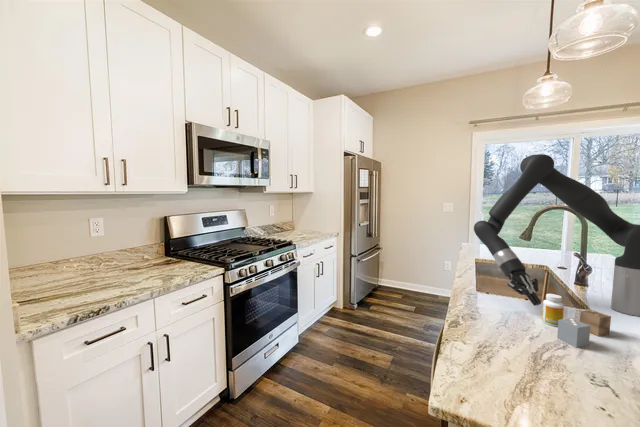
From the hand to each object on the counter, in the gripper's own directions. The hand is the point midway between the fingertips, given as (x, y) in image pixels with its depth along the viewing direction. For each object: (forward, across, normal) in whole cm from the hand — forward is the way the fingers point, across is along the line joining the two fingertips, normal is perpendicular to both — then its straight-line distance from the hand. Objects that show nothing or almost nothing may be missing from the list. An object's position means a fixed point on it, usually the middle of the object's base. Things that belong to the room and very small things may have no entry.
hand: (538, 304), depth 96 cm
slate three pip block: (+14, -7, -8) cm, 17 cm away
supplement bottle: (+7, 0, 0) cm, 7 cm away
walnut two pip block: (+12, +7, -6) cm, 15 cm away
